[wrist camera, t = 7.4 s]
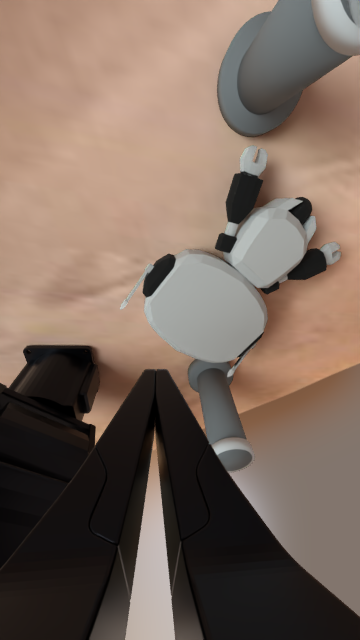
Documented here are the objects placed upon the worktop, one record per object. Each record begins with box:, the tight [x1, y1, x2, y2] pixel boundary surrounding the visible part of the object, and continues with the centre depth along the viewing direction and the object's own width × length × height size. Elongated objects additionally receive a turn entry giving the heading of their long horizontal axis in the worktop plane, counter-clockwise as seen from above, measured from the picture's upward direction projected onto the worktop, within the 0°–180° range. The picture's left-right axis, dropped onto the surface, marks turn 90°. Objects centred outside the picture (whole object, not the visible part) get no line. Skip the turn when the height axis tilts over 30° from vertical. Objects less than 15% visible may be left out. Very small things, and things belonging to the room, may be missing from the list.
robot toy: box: [120, 145, 341, 377], centre depth 19 cm, size 12×4×15 cm
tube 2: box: [217, 0, 360, 137], centre depth 10 cm, size 5×5×10 cm
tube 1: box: [188, 359, 255, 473], centre depth 22 cm, size 5×5×10 cm
